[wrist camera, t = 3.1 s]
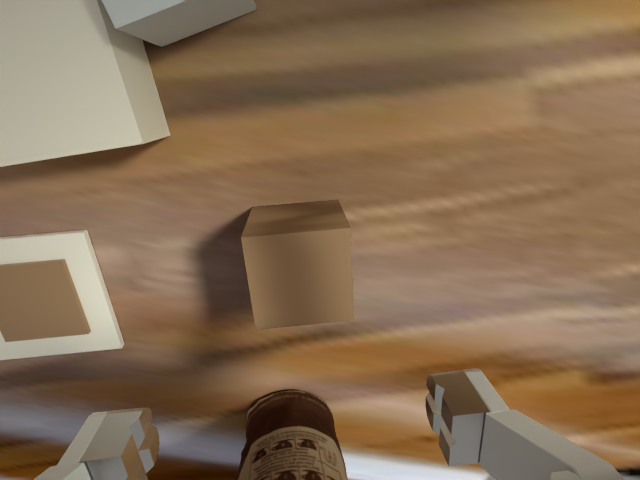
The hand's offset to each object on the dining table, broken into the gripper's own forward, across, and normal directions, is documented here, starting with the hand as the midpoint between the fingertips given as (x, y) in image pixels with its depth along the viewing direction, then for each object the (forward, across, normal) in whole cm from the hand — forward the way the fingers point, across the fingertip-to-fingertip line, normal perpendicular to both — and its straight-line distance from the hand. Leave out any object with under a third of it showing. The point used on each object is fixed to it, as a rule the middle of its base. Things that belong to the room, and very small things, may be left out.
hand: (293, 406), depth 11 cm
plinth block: (+12, +9, -10) cm, 19 cm away
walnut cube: (+12, -1, 0) cm, 12 cm away
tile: (+12, +15, +2) cm, 20 cm away
